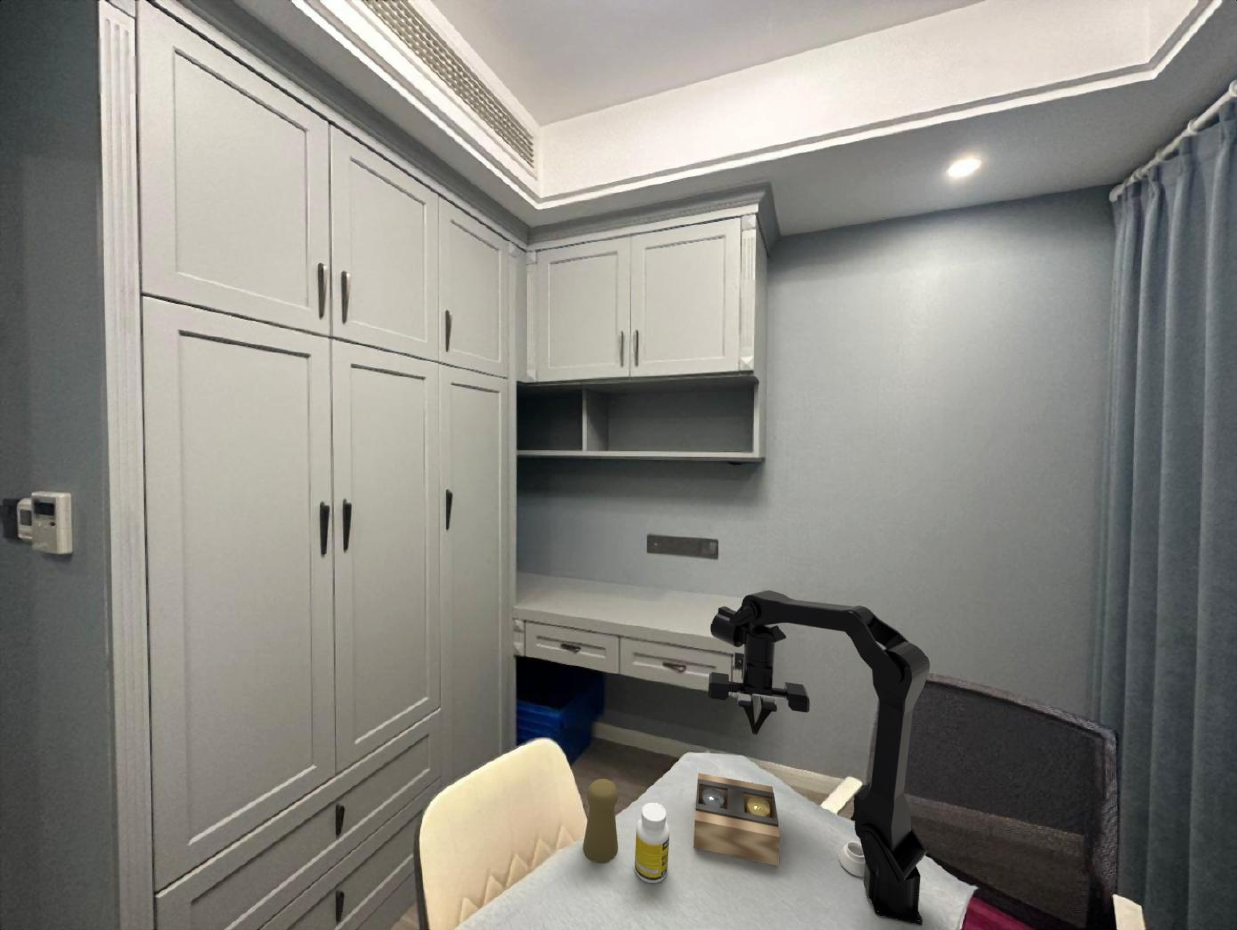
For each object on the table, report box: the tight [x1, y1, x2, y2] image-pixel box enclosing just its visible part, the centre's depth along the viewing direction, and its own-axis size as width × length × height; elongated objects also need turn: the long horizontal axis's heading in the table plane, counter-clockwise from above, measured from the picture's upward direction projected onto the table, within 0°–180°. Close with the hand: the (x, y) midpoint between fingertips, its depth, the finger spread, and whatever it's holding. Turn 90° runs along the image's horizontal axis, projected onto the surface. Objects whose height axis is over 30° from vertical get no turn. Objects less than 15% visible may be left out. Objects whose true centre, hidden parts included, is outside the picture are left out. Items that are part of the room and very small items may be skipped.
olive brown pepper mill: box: [582, 778, 619, 864], centre depth 81 cm, size 6×6×11 cm
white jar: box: [838, 840, 865, 878], centre depth 80 cm, size 5×3×5 cm
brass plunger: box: [747, 797, 770, 817], centre depth 85 cm, size 4×4×5 cm
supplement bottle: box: [634, 802, 670, 884], centre depth 77 cm, size 5×5×10 cm
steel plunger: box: [702, 789, 724, 808], centre depth 87 cm, size 4×4×5 cm
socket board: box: [693, 772, 781, 867], centre depth 86 cm, size 14×12×5 cm
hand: (754, 733), depth 94 cm, fingers closed
